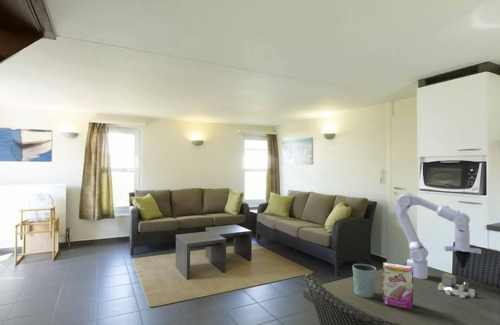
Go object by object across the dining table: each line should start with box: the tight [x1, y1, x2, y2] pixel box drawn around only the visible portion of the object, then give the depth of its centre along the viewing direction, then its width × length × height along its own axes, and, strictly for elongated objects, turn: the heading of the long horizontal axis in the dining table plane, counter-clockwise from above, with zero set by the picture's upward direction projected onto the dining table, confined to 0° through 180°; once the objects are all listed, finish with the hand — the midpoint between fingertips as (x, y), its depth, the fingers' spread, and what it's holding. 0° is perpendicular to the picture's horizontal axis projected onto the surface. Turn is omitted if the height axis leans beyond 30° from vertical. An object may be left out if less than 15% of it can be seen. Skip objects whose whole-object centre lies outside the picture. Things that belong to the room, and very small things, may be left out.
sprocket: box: [437, 281, 476, 299], centre depth 130 cm, size 14×14×6 cm
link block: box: [441, 273, 457, 287], centre depth 133 cm, size 4×4×5 cm
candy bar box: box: [382, 262, 414, 311], centre depth 119 cm, size 11×5×16 cm, turn 65°
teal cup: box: [352, 263, 377, 299], centre depth 130 cm, size 10×10×12 cm
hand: (462, 267), depth 136 cm, fingers closed
